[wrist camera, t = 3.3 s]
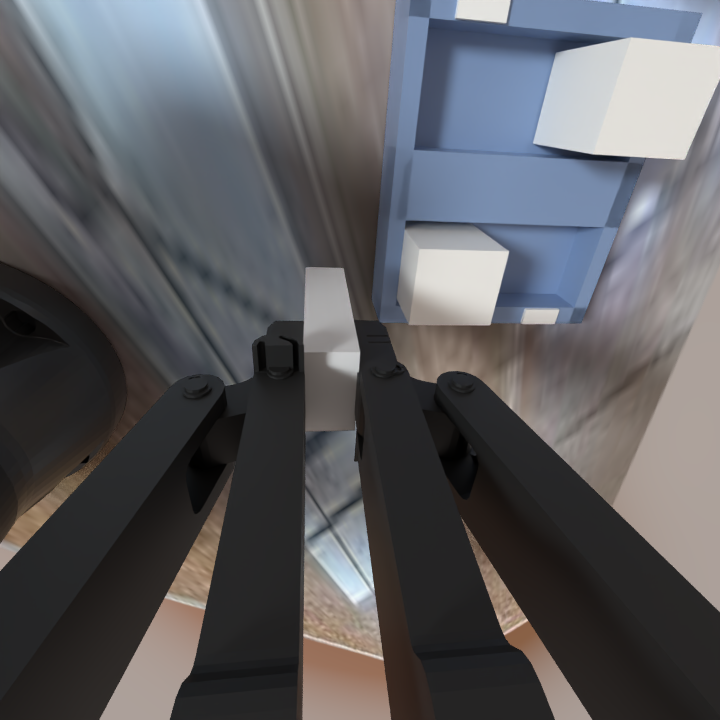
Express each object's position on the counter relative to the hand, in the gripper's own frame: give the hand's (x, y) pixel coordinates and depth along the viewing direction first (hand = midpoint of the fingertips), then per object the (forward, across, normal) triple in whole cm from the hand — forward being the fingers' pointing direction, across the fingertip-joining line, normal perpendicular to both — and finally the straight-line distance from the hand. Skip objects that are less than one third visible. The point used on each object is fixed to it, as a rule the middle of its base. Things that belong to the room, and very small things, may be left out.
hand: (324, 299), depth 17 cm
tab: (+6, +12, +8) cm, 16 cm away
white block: (+6, +6, 0) cm, 9 cm away
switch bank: (+7, +9, +4) cm, 12 cm away
